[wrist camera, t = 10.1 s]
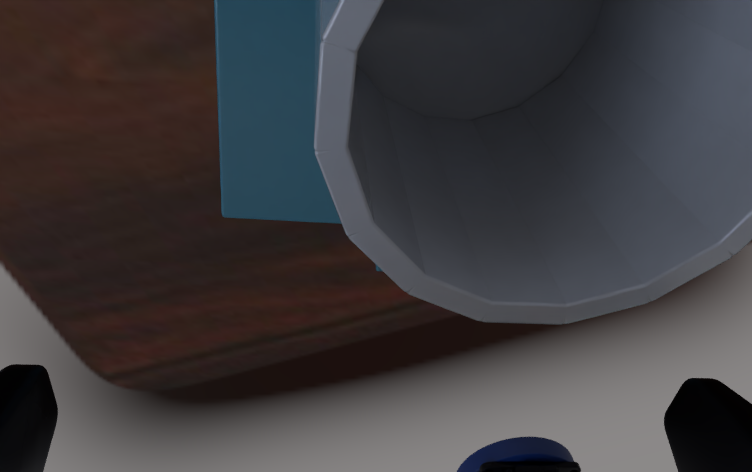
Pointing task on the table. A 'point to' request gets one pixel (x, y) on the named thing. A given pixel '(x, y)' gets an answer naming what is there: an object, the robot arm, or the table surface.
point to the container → (268, 112)
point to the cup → (537, 147)
